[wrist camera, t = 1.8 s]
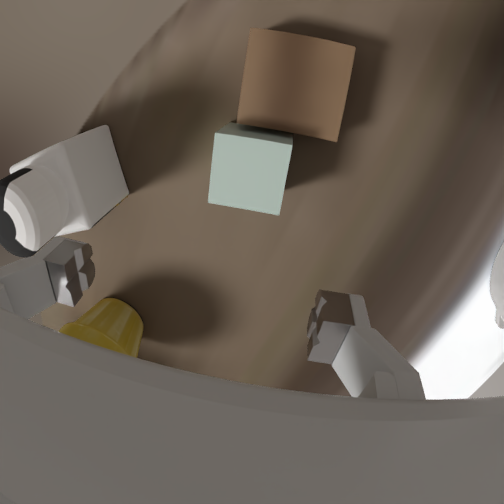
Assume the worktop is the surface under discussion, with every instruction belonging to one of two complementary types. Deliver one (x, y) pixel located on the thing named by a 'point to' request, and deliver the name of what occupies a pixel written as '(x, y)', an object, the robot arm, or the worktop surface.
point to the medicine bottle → (60, 191)
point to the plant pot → (109, 327)
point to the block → (295, 83)
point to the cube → (250, 167)
